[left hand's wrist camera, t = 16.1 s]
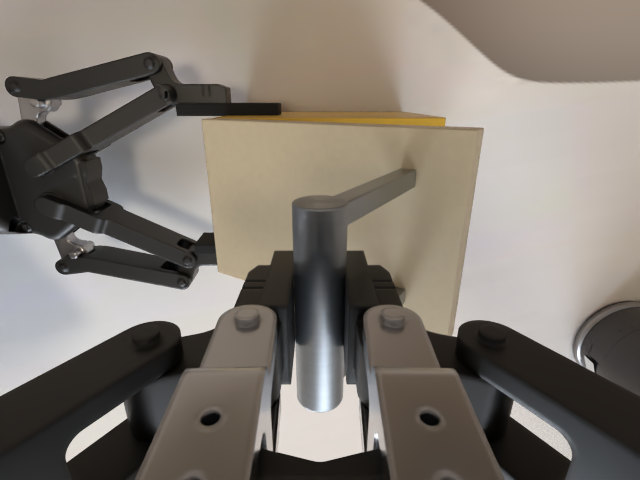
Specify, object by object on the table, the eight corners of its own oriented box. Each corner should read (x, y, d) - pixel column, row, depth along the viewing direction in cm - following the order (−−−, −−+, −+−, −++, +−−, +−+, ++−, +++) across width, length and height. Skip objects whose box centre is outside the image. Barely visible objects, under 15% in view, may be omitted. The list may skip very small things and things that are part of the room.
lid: (484, 127, 14) (404, 154, 7) (453, 333, 17) (377, 484, 10) (217, 118, 21) (51, 127, 14) (231, 265, 24) (101, 329, 17)
